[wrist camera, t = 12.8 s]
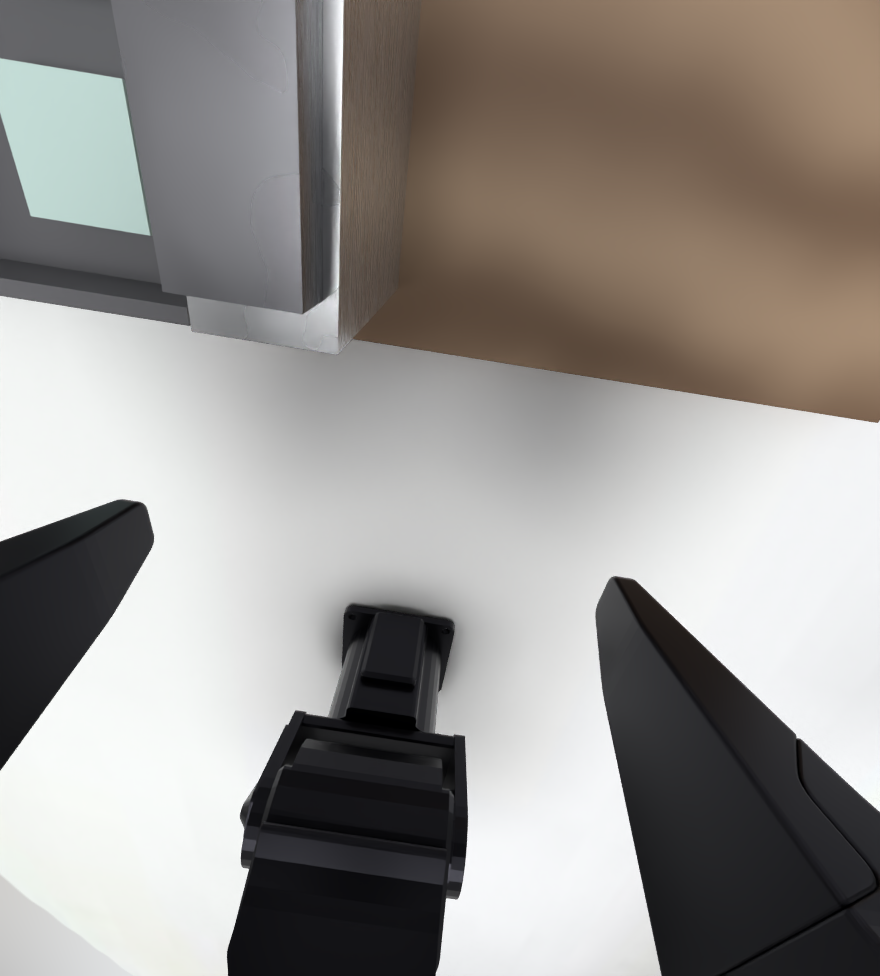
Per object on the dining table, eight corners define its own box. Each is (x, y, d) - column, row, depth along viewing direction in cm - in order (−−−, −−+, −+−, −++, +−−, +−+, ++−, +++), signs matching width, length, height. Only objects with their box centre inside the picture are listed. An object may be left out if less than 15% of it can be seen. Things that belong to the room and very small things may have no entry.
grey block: (397, 288, 16) (320, 373, 8) (313, 275, 16) (156, 348, 8) (435, -168, 11) (314, -1118, 3) (307, -190, 11) (-151, -1206, 3)
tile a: (177, 232, 17) (150, 235, 15) (67, 214, 17) (30, 216, 15) (155, 89, 15) (121, 78, 13) (29, 68, 14) (-18, 55, 13)
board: (850, 407, 19) (877, 422, 17) (239, 309, 18) (221, 317, 17) (1210, -131, 11) (1303, -172, 10) (179, -308, 11) (140, -373, 10)
